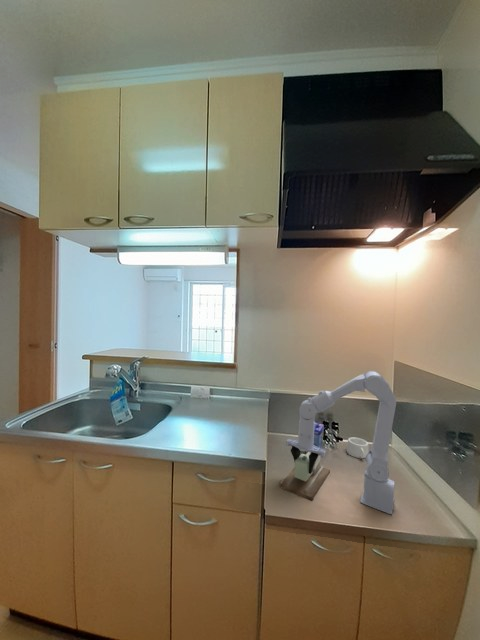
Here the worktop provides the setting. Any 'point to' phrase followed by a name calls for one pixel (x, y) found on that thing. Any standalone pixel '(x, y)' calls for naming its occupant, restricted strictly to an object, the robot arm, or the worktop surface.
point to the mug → (357, 447)
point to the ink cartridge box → (318, 435)
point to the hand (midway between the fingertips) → (303, 469)
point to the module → (302, 467)
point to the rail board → (309, 486)
